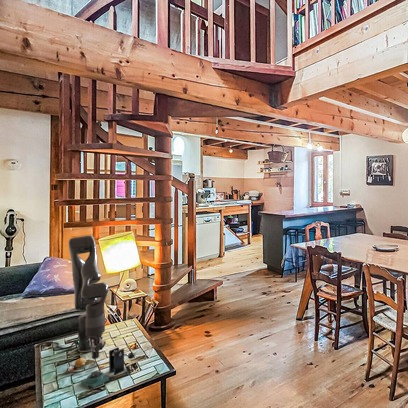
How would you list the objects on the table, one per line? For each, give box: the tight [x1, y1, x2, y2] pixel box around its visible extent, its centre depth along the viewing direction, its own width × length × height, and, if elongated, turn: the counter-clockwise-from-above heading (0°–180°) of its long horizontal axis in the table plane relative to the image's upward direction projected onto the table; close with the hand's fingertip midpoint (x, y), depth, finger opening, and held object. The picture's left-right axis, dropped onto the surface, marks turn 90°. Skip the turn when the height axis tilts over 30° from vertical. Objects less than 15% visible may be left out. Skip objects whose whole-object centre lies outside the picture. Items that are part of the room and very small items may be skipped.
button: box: [90, 370, 101, 378], centre depth 155 cm, size 4×4×2 cm
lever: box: [112, 350, 136, 360], centre depth 167 cm, size 12×3×3 cm
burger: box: [66, 357, 97, 374], centre depth 167 cm, size 12×12×8 cm
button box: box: [80, 371, 110, 389], centre depth 155 cm, size 10×7×4 cm
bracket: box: [108, 346, 125, 376], centre depth 163 cm, size 8×10×13 cm
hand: (95, 358), depth 155 cm, fingers closed
